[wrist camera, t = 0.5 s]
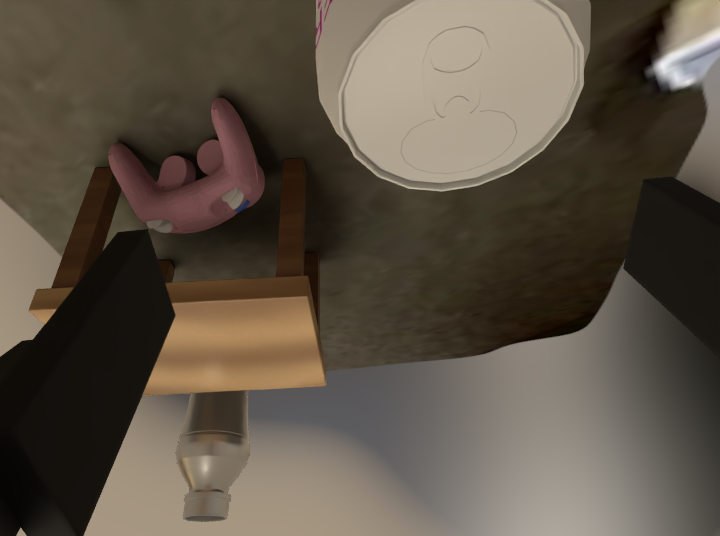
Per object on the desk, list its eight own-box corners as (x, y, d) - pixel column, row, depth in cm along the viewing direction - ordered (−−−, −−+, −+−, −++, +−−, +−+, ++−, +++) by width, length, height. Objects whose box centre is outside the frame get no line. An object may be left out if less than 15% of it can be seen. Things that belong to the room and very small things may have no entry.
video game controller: (149, 162, 37) (164, 251, 36) (98, 143, 33) (113, 243, 32) (261, 115, 34) (281, 210, 33) (221, 87, 30) (243, 196, 29)
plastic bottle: (221, 289, 49) (193, 509, 38) (273, 312, 54) (261, 516, 42) (184, 311, 53) (147, 520, 41) (235, 332, 57) (214, 526, 46)
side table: (84, 163, 35) (27, 310, 28) (310, 152, 35) (307, 296, 28) (155, 272, 46) (127, 396, 40) (325, 264, 47) (326, 386, 40)
